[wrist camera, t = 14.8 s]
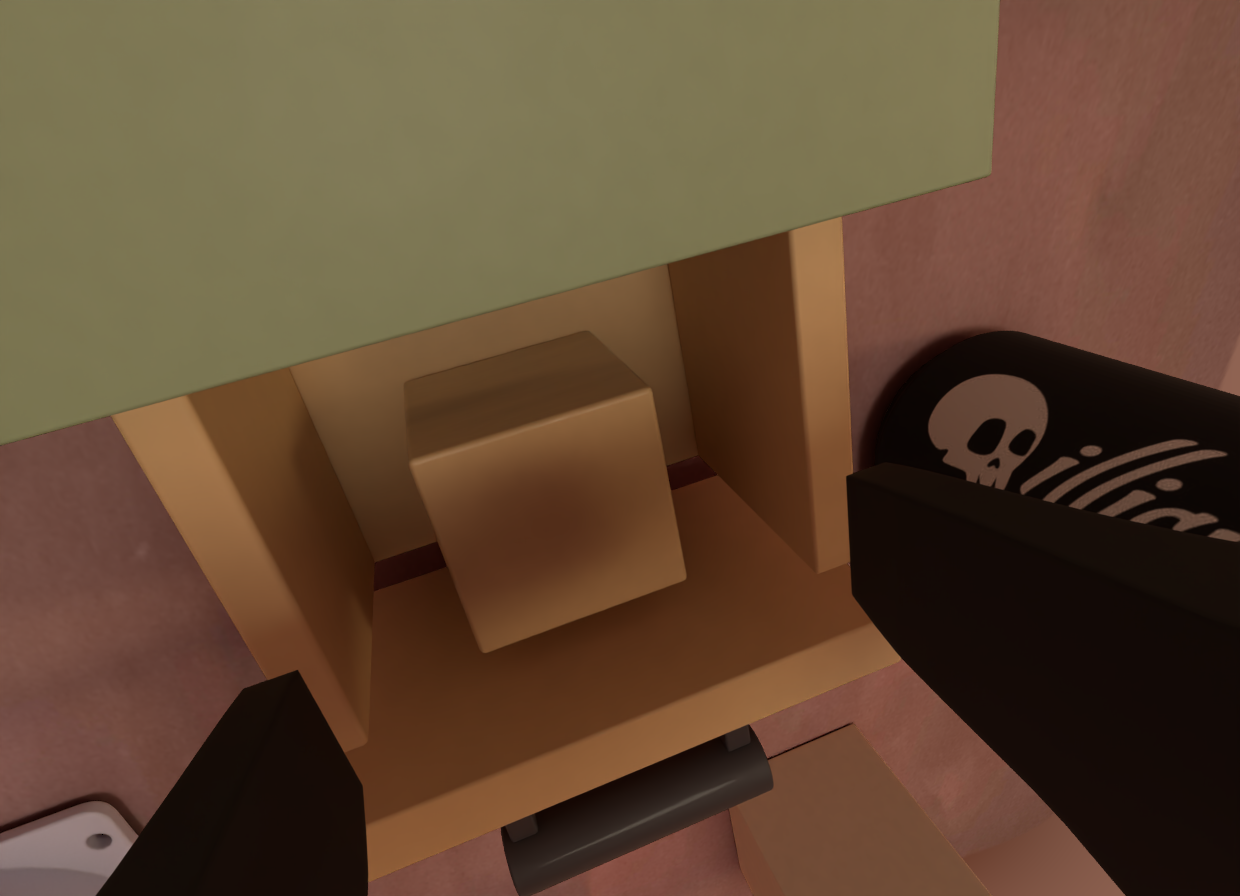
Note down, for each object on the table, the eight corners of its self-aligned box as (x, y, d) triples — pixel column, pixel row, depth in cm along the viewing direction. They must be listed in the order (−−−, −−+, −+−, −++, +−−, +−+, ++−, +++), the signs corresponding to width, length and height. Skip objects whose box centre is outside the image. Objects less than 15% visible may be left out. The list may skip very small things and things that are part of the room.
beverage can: (967, 277, 18) (1729, 450, 8) (1077, 396, 21) (1734, 637, 11) (816, 470, 19) (1312, 849, 9) (941, 558, 22) (1422, 919, 12)
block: (625, 487, 15) (689, 581, 12) (461, 542, 15) (481, 657, 11) (589, 328, 14) (652, 386, 10) (401, 381, 13) (405, 462, 10)
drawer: (764, 639, 20) (903, 823, 15) (417, 775, 18) (429, 1045, 13) (680, -3, 13) (898, -114, 7) (87, 113, 11) (-218, 80, 5)
